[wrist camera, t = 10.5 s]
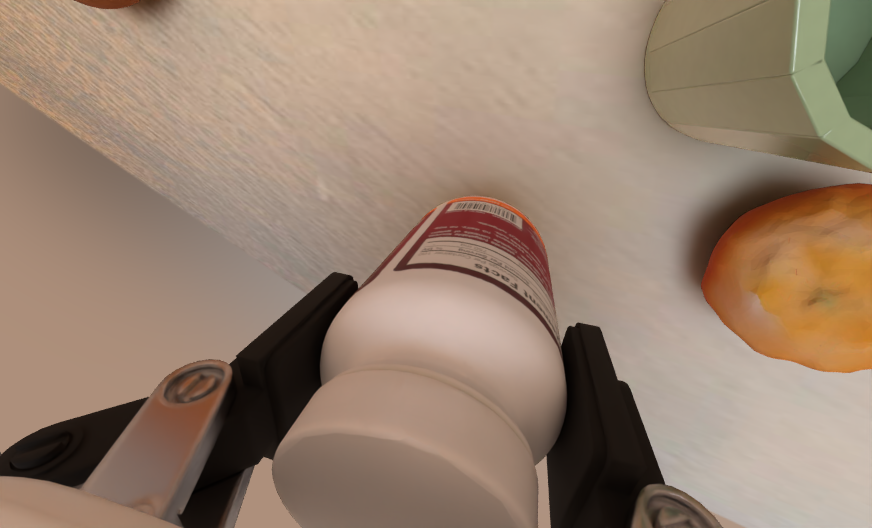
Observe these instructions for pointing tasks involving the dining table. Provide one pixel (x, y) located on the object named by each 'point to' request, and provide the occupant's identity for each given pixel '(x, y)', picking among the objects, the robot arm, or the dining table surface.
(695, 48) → the cup
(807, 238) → the fruit
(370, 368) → the pill bottle
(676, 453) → the dining table surface
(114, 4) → the smoking pipe
